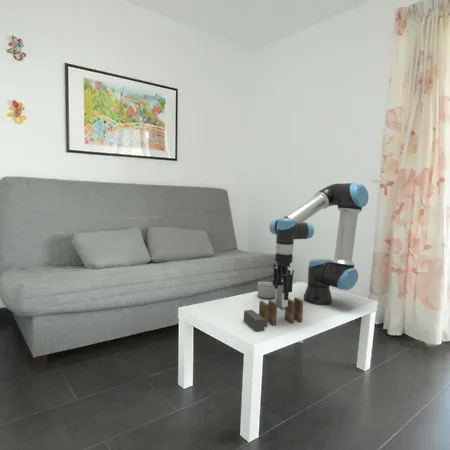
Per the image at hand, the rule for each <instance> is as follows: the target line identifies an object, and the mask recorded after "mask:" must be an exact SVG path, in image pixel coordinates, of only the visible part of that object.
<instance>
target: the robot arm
mask: <svg viewBox="0 0 450 450" xmlns="http://www.w3.org/2000/svg"><path fill="white" fill-rule="evenodd" d="M368 203H369V192H368V189H367V187H366V186H365V185H363V184H362V183H355V182H354V183H353V182H352V183H333V184H329V185H327V186H326V187H324V188H322V189H320V190H319V191H317V192H316V193H314V195H313V197H312V198H310V199H309V200H307V201H305V203H303V204H301V205H300V206H299V207H297V208H296V209H294V210H292V211H291V212H290V213H288V214H287V215H285V216H283V217H280V218H278V219H272V221H271V222H270V223H269V231H270V233H271V234H272V235H276V238H275V239H276V242H275V252H276V253H275V254H274V255H275V259H274V261H275V262H276V263H274V264H273V265H272V267H273V268H272V269H273V272H272V273H273V274H272V275H273V276H272V283H273V286H275V288H276V289H275V296H274V302H276V303H277V287H278V285H282V286H283V291H282V305H281V307H288V298H289V293H292V292H293V284H294V282H293V281H294V272H295V270H294V269H292V268H291V263H292V262H293V253H294V240H307V239H308V240H309V239H311V238H312V237H313V236H314V235H315V228H314V225H313V224H312V223H310V222H306V221H307V220H308V219H310V218H311V217H313V216H314V215H316V214H317V213H319V212H320V211H321V210H324V209H327V208H329V207H331V206H332V207H333V206H337V210H338V211H339V219H338V226H337V236H336V244H335V250H334V251H335V252H334V256H333V258H332V259H329V258H328V259H327V258H318V259H317V258H315V259H311V260H309V263H308V267H307V268H308V269H307V270H308V271H307V286H306V289H305V291H304V294H303V302H305V303H309V304H312V305H319V306H325V305H326V306H327V305H332V303H333V297H332V294H331V289H330V287H334V288H337V289H339V290H343V291H349V290H350V291H351V289H353V288H354V286H356V284H357V282H358V279H359V273H358V270H357V269H356V268H355V263H354V262H353V260H352V259H353V255H354V247H355V240H356V233H357V232H356V230H357V225H358V223H357V222H358V217H359V216H358V215H359V214H360V213H361V212H362V209H363V208H364V207H366V206H367V204H368Z"/></svg>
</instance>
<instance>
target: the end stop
mask: <svg viewBox="0 0 450 450" xmlns="http://www.w3.org/2000/svg"><path fill="white" fill-rule="evenodd" d="M243 322H244V323H245V324H246V325H248V326H249V327H250V328H251V329H252V330H253V331H254V332H256V333H257V332H264V331H265V328H266V327H265V319H264V318H263V317H261V316H260V315H259V313H257V312H256V311H254V310H253V309H248V310H247V309H246V310H243Z"/></svg>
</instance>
